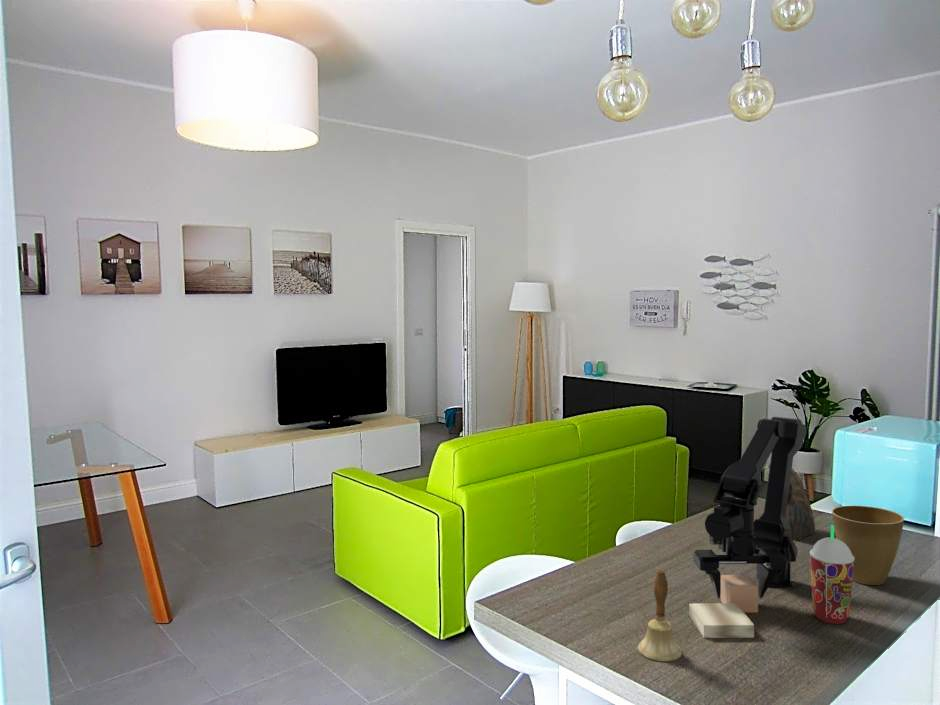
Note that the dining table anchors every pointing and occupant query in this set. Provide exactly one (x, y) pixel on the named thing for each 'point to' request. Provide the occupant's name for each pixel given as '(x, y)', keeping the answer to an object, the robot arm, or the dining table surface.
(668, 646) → the hand bell
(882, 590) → the dining table surface
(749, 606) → the cube
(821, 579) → the smoothie
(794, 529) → the owl
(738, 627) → the base
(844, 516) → the plant pot
